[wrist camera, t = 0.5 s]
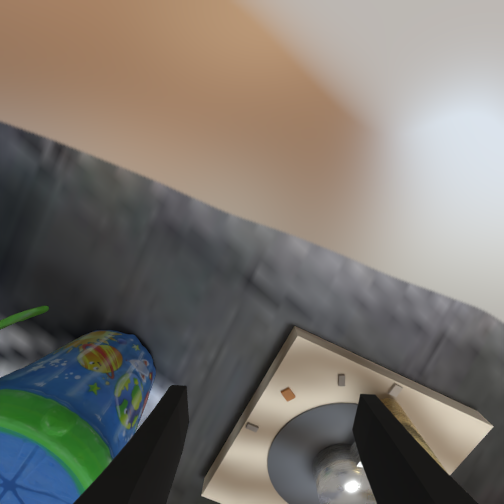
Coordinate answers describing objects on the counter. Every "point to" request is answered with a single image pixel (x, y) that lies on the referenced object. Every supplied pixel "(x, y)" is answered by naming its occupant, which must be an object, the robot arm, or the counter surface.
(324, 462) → the gold and silver piece
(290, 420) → the dial housing
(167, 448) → the robot arm
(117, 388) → the snack cup
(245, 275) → the counter surface
